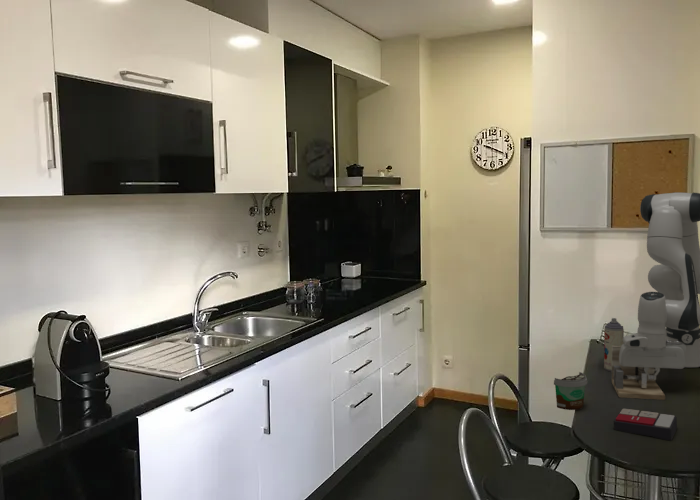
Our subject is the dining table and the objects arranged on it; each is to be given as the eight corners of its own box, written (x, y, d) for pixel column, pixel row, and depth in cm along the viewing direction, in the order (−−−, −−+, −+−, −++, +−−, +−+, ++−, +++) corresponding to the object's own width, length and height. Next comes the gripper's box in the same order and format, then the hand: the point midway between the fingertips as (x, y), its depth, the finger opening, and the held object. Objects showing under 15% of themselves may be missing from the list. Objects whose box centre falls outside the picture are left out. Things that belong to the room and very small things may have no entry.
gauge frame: (611, 382, 214) (611, 345, 213) (654, 384, 210) (654, 347, 209) (618, 397, 199) (619, 358, 198) (665, 399, 195) (665, 359, 194)
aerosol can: (602, 366, 233) (602, 316, 231) (621, 367, 231) (621, 316, 229) (605, 371, 226) (605, 320, 224) (625, 372, 225) (625, 320, 223)
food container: (568, 414, 186) (568, 383, 185) (553, 408, 191) (553, 378, 190) (595, 406, 192) (596, 376, 191) (580, 400, 197) (580, 371, 196)
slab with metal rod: (620, 379, 211) (620, 365, 210) (641, 380, 209) (641, 366, 208) (624, 387, 203) (624, 372, 202) (646, 388, 201) (646, 373, 200)
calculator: (621, 406, 182) (676, 413, 173) (622, 420, 182) (677, 428, 173) (613, 418, 173) (670, 426, 164) (613, 432, 173) (671, 441, 164)
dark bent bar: (634, 379, 211) (634, 351, 210) (638, 379, 210) (639, 351, 209) (635, 381, 208) (635, 354, 207) (640, 382, 207) (640, 354, 206)
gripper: (683, 338, 202) (682, 378, 203) (618, 336, 207) (617, 375, 209) (688, 343, 196) (687, 384, 197) (621, 341, 201) (620, 381, 203)
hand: (651, 379), depth 203 cm, fingers closed
